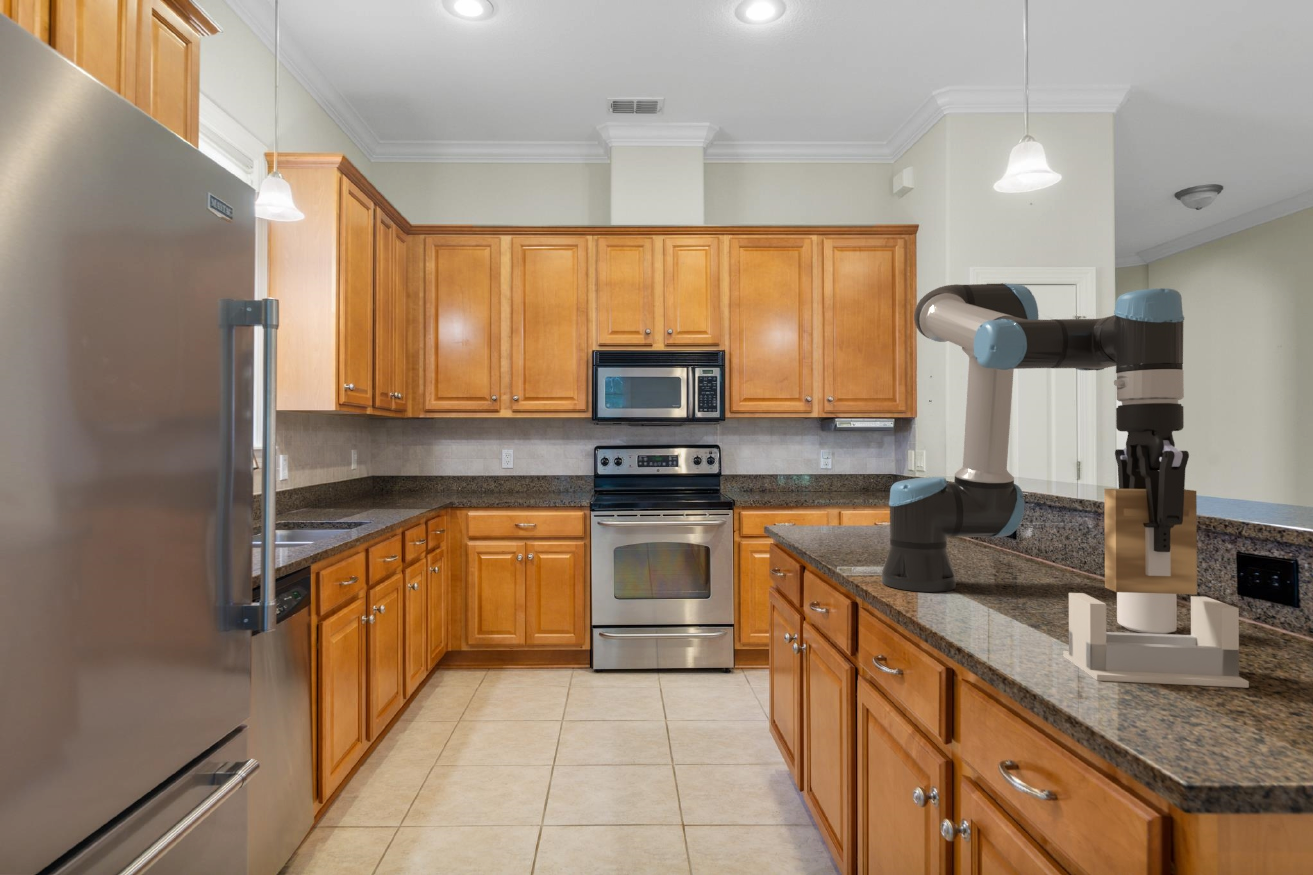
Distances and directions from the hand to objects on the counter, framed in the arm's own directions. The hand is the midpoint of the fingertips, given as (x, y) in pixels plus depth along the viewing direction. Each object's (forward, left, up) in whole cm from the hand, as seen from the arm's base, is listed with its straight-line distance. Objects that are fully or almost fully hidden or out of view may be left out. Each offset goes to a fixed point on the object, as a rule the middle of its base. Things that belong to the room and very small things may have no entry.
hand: (1150, 572), depth 93 cm
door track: (0, 0, -14) cm, 14 cm away
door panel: (0, 0, -3) cm, 3 cm away
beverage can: (-22, +11, -14) cm, 28 cm away
